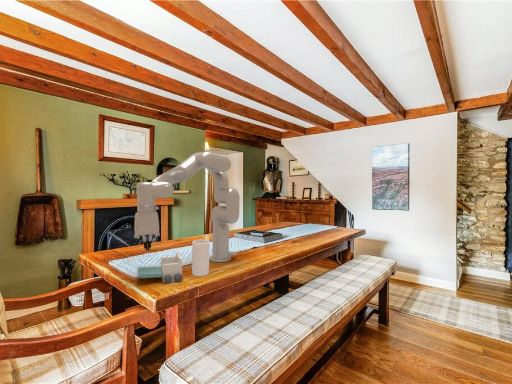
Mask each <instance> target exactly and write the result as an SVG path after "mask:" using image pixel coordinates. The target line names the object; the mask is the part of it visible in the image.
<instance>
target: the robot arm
mask: <svg viewBox="0 0 512 384" xmlns="http://www.w3.org/2000/svg"><path fill="white" fill-rule="evenodd" d="M231 167H232V162H231V160H230V158H229V157H228V156H225V155H222V154H219V153H214V152H210V151H200V152H195V153H192V155H190V156H189V157H188V158H186V159H185V160H183V161H182V162H180V164H178V165H177V166H175V167H173V168H171V169H169V170H167V171H166V172H164V173H162V174H160V175H159V176H157V177H156V178H155V179H153V180H152V181H149V182H148V181H147V182H146V181H143V182H137V184H136V203H137V206H136V207H137V209H136V210H137V212H135V214H134V235H133V238H134V239H139V240H141V241H142V242H143V249H145V251H150V250H151V248H152V241H153V239H154V238H157V237H159V236H160V235H161V234H160V221H159V215H158V212H157V210H160V207H159V206H157V205H156V198H161V199H162V198H163V199H165V198H169V197H170V196H172V195H173V194H174V191H175V188H174V186H173V185H175V184H178V183H183V182H185V181H187V180H190V178H192V177H193V176H194V175H195V174H197V173H198V172H200V171H201V170H202V169H206V170H207V171H208V172H209V173H210V174H211V176H212V178H213V199H214V202H216V203H217V204H224V205H217V206H214V207H213V208H212V209H211V212H210V216H211V222H212V223H211V224H212V255H211V256H209V261H210V262H213V263H226V262H229V261H231V260H232V256H237V251H229V249H230V245H229V244H230V228H229V224H231V225H232V224H236V223H237V222H238V220H239V217H240V205H241V204H240V202H241V201H240V193H239V191H238V189H236V188H235V187H230V181H229V180H230V179H229V176H228V174H227V172H228V171H229V170H230V169H231ZM146 236H148V239H147V237H146Z"/></svg>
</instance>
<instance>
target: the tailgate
mask: <svg viewBox="0 0 512 384" xmlns="http://www.w3.org/2000/svg"><path fill="white" fill-rule="evenodd" d="M162 275H163V273H162V270H161V266H137V279H147V278H148V279H150V278H162Z"/></svg>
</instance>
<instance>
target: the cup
mask: <svg viewBox="0 0 512 384" xmlns="http://www.w3.org/2000/svg"><path fill="white" fill-rule="evenodd" d="M191 244H192V245H191V247H192V250H191V251H192V253H191V275H192V276H194V277H205V276H207V275H209V273H210V240H208V239H194V240H193V241H192V243H191Z"/></svg>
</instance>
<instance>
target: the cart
mask: <svg viewBox="0 0 512 384" xmlns="http://www.w3.org/2000/svg"><path fill="white" fill-rule="evenodd" d="M160 264H161V265H160V267H161V270H162V273H163V275H162V277H161V280H162V283H163V284H171V283H173V282H176V283H179V282H182V281H183V258H182V256H181V254H180V253H179V252H178V251H177V252H175V256H166V257H161V258H160Z"/></svg>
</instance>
